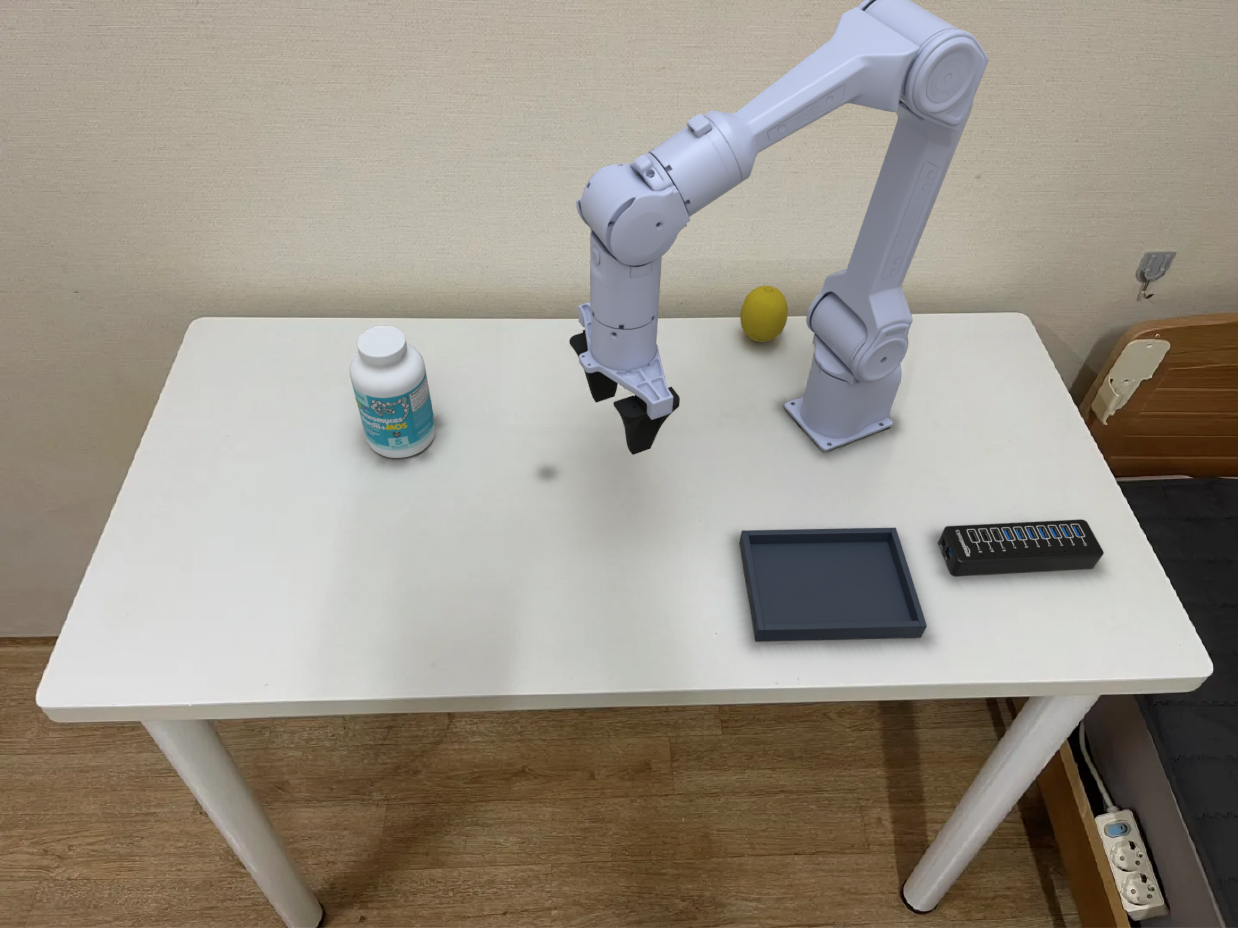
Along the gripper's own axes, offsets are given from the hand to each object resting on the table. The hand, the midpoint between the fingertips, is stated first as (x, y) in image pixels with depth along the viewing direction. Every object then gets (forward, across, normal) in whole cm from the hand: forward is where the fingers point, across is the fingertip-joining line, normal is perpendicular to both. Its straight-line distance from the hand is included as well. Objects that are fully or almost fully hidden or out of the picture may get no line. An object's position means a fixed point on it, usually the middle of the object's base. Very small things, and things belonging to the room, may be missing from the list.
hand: (621, 422), depth 84 cm
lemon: (+10, -14, +26) cm, 31 cm away
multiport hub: (+10, +24, +31) cm, 41 cm away
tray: (+10, +19, +12) cm, 25 cm away
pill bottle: (+10, -17, -18) cm, 27 cm away
